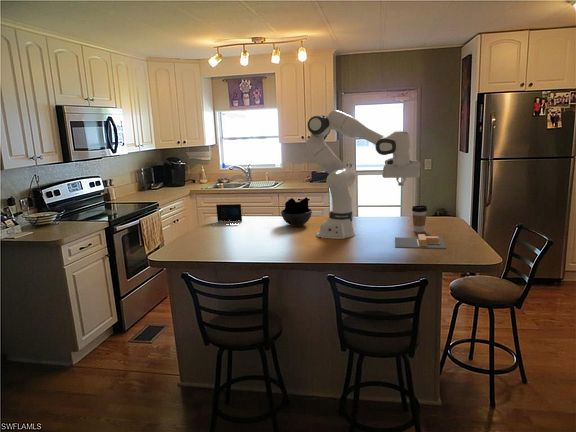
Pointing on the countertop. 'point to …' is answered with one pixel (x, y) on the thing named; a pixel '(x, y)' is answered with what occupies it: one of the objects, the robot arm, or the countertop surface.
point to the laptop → (228, 214)
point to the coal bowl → (296, 212)
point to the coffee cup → (419, 217)
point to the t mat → (416, 243)
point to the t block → (427, 239)
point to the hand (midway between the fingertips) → (400, 185)
